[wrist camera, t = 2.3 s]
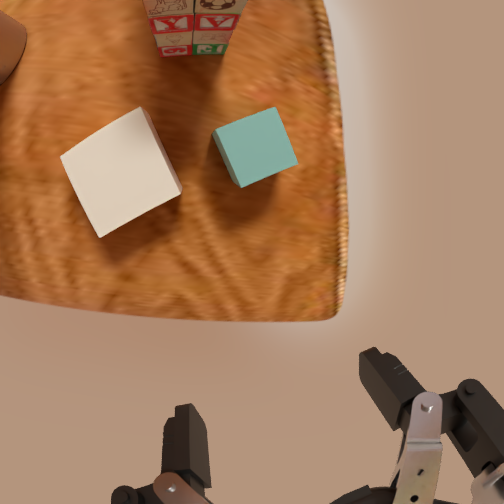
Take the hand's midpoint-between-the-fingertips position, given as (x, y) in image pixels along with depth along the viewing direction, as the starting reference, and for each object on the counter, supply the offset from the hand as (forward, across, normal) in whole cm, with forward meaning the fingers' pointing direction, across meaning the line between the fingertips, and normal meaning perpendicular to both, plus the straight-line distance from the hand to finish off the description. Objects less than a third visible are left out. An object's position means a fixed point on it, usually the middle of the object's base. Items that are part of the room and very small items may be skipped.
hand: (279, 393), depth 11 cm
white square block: (+17, +8, -12) cm, 22 cm away
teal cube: (+18, -4, -11) cm, 21 cm away
